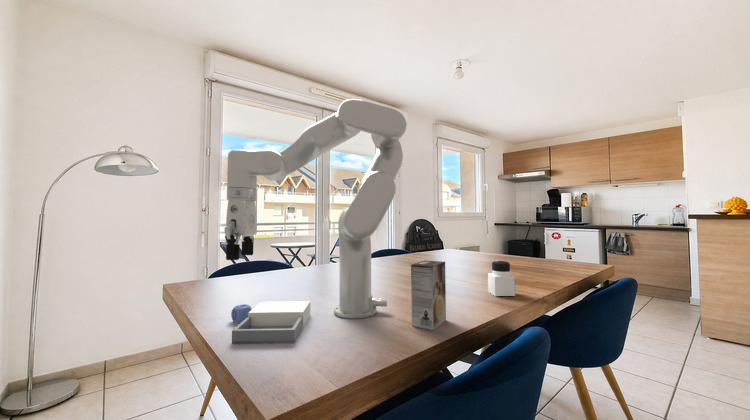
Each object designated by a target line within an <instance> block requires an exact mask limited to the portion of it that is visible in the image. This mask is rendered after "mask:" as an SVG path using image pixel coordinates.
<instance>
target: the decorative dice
mask: <svg viewBox="0 0 750 420" xmlns="http://www.w3.org/2000/svg"><path fill="white" fill-rule="evenodd" d="M252 309H253V308H252V306H251V305H249V304H244V303H243V304H238V305H235V306H234V307H233V308H232V310H231V313H230V314H231V320H232V321H233V323H234V324H240V323H241V322H243V321H244V320H245V319H246V318H247V317H248V312H250V311H251V310H252Z"/></svg>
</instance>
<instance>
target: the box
mask: <svg viewBox="0 0 750 420" xmlns="http://www.w3.org/2000/svg"><path fill="white" fill-rule="evenodd" d="M303 328H304V327H303V316H300V317H299V318H298V320H297V321H296V323H295V324H294V326H251V317H247V318H246V319H245V320H244V321H243V322H241V323H238V325H237V326H235V327H234V328H233V329H232V330H231V345H251V344H252V345H259V344H260V345H261V344H267V345H268V344H295V343H296V341H297V339H298V338H299V335H301V333H302V331H303Z"/></svg>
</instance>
